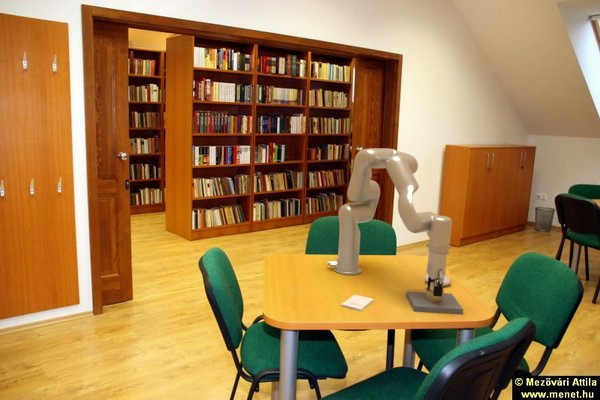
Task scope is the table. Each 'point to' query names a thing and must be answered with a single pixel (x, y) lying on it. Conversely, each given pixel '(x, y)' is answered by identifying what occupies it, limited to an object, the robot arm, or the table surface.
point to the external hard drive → (357, 302)
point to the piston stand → (424, 306)
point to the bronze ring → (432, 296)
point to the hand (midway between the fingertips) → (434, 291)
